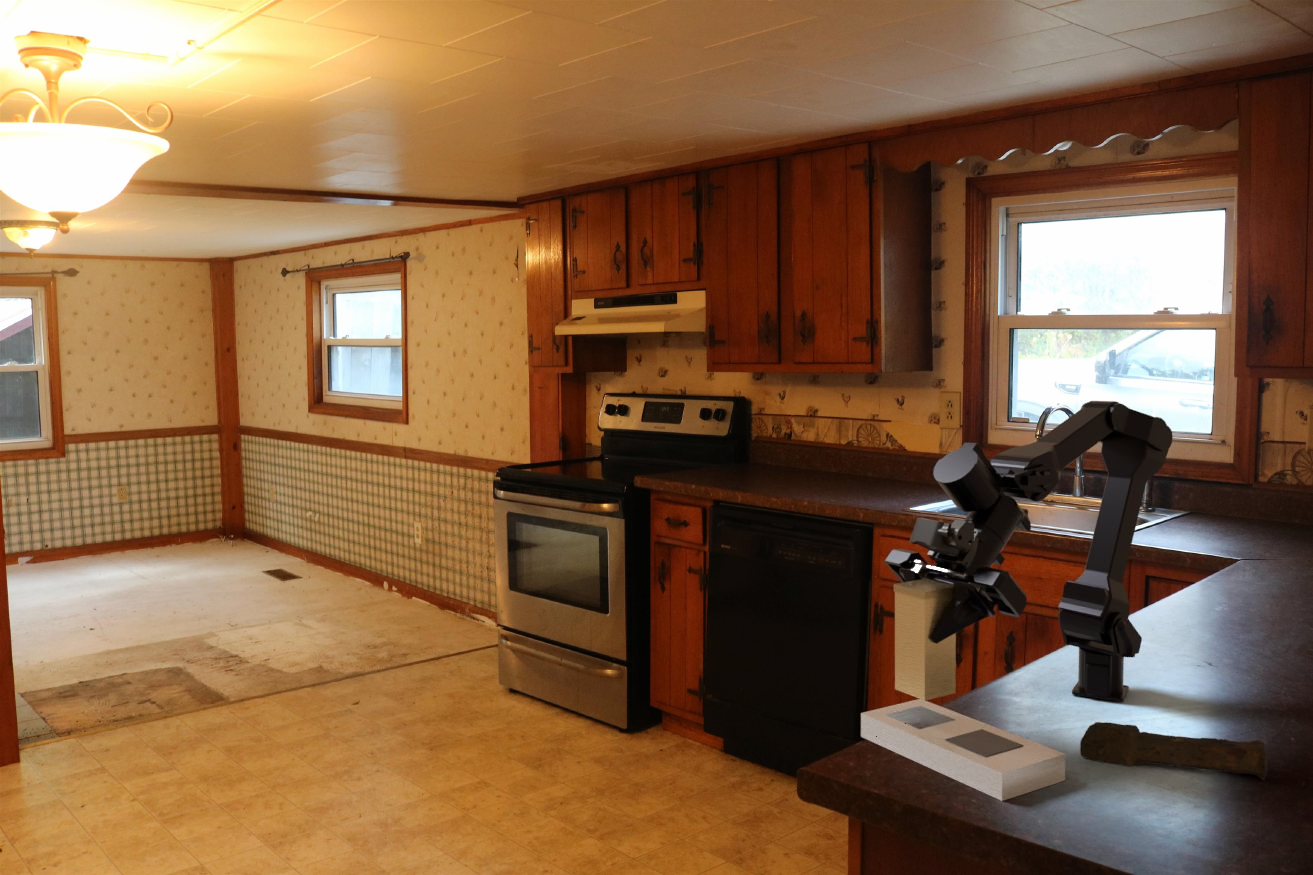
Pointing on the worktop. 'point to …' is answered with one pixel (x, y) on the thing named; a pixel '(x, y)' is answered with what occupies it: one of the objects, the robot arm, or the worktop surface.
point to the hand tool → (1171, 750)
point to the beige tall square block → (923, 640)
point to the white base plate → (964, 748)
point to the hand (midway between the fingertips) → (916, 635)
